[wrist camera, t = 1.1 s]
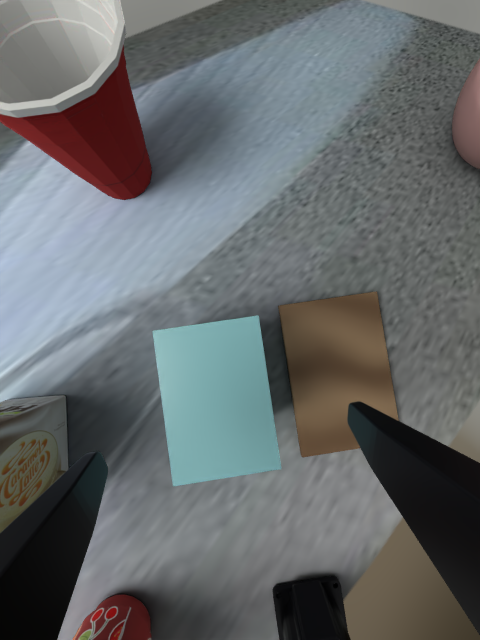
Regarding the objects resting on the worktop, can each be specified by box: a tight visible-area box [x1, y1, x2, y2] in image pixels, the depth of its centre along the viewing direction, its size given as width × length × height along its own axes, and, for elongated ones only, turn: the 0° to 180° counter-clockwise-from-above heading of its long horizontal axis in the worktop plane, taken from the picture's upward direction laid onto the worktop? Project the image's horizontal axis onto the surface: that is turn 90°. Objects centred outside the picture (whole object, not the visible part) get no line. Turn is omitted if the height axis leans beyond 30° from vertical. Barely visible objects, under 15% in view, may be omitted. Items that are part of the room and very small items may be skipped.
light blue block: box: [153, 315, 281, 486], centre depth 19 cm, size 10×7×8 cm
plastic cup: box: [0, 0, 152, 200], centre depth 17 cm, size 11×11×12 cm
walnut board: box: [278, 292, 399, 457], centre depth 22 cm, size 15×10×1 cm, turn 8°
